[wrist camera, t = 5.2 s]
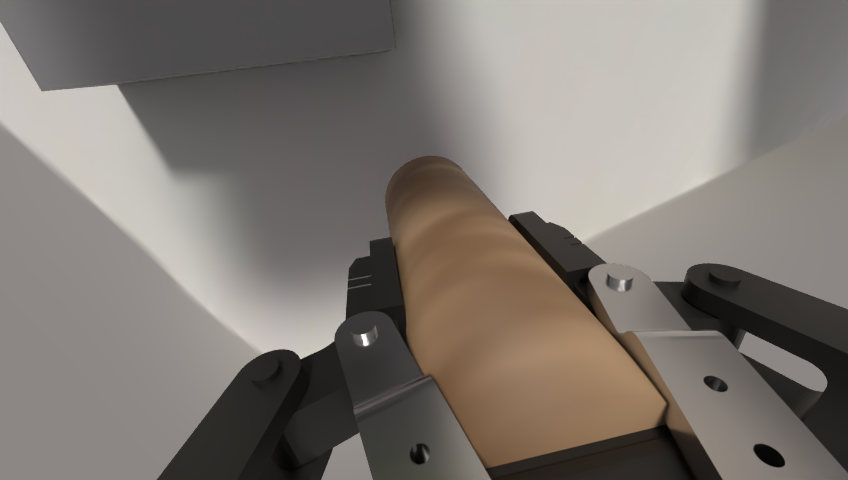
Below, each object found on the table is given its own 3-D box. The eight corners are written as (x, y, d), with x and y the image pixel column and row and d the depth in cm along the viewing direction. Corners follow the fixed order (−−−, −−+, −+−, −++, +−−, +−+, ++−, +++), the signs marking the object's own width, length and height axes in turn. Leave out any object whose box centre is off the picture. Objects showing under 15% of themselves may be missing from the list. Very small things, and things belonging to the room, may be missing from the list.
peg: (468, 149, 15) (726, 366, 4) (473, 230, 17) (660, 516, 6) (377, 164, 14) (416, 438, 4) (393, 245, 16) (446, 573, 6)
